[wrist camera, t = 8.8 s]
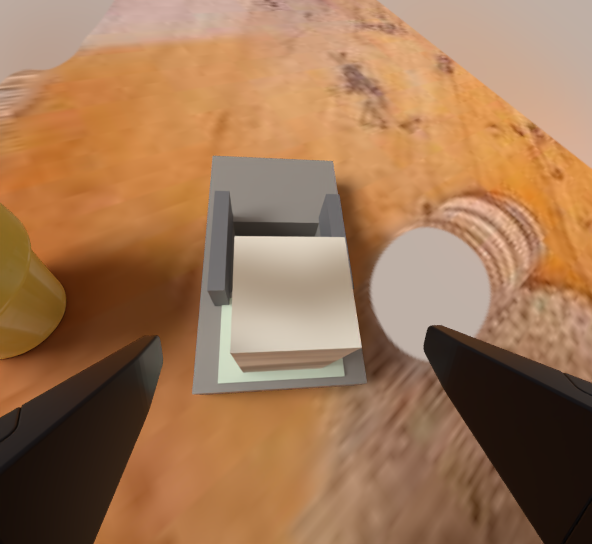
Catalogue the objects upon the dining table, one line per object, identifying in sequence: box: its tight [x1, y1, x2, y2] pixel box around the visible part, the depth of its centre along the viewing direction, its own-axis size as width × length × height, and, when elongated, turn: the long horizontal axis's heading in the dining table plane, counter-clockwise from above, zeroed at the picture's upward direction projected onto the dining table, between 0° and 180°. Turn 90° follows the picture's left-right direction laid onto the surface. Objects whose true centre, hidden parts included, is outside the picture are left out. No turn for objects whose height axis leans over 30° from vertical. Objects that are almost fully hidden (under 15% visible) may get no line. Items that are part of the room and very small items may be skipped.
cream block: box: [230, 236, 362, 373], centre depth 15 cm, size 5×5×8 cm
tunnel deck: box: [192, 156, 367, 395], centre depth 21 cm, size 20×11×6 cm, turn 3°
